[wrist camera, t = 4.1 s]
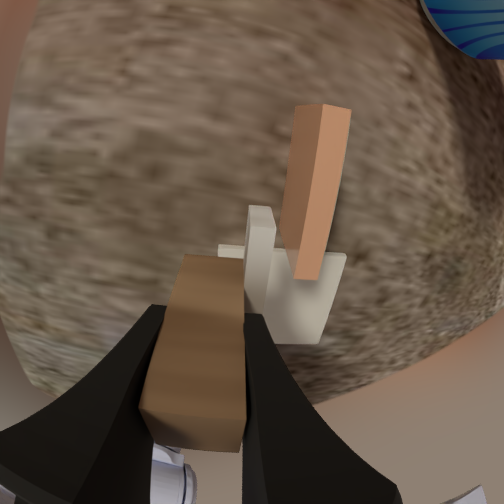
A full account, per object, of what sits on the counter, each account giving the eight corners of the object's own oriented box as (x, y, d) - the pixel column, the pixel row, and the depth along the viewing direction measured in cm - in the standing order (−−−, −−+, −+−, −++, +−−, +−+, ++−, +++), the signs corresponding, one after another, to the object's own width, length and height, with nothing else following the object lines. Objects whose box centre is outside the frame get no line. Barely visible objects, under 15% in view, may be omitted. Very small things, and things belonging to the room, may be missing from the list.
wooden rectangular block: (251, 339, 14) (257, 470, 7) (188, 335, 13) (167, 464, 7) (270, 207, 10) (309, 356, 4) (185, 200, 10) (112, 339, 4)
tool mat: (316, 339, 24) (318, 343, 23) (216, 336, 23) (215, 341, 23) (344, 253, 19) (346, 256, 19) (218, 244, 19) (218, 247, 18)
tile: (298, 229, 18) (320, 280, 13) (279, 227, 18) (293, 278, 13) (316, 109, 15) (354, 110, 9) (295, 106, 14) (323, 103, 9)
